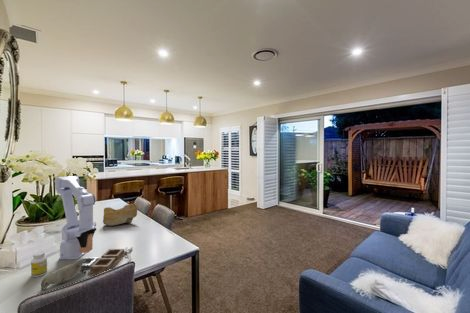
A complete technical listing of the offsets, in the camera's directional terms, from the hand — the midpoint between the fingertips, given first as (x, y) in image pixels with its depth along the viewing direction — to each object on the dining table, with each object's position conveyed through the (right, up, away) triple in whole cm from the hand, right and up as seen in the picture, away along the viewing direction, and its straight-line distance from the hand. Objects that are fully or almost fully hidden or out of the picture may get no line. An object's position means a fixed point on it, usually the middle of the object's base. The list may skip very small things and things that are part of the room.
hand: (86, 245), depth 110 cm
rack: (+10, -10, +2) cm, 14 cm away
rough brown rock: (-14, -7, +61) cm, 63 cm away
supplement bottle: (-16, -10, -9) cm, 21 cm away
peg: (0, -3, 0) cm, 3 cm away
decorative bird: (0, -11, -14) cm, 17 cm away
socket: (0, -10, 0) cm, 10 cm away
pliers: (+14, -10, +10) cm, 20 cm away
